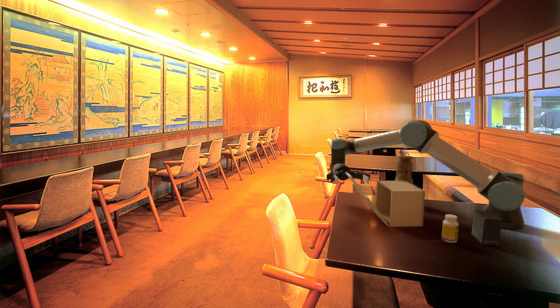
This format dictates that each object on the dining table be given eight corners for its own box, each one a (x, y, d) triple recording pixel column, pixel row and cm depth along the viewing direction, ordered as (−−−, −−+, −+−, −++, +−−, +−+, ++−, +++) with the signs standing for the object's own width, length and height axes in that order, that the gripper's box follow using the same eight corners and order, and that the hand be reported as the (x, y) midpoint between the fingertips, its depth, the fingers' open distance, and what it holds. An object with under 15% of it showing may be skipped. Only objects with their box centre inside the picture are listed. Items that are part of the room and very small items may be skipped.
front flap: (374, 211, 156) (343, 169, 153) (389, 225, 136) (354, 178, 133) (373, 212, 156) (342, 170, 153) (388, 226, 136) (353, 179, 133)
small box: (500, 246, 118) (503, 219, 116) (481, 245, 119) (483, 218, 117) (488, 235, 128) (490, 210, 126) (470, 234, 129) (472, 209, 128)
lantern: (384, 200, 178) (387, 146, 174) (398, 198, 183) (401, 145, 179) (406, 207, 165) (409, 149, 161) (420, 205, 169) (423, 148, 165)
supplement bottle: (456, 244, 119) (458, 219, 118) (440, 241, 122) (442, 216, 121) (457, 239, 124) (459, 215, 123) (442, 236, 127) (443, 212, 126)
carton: (403, 212, 156) (405, 180, 154) (422, 227, 137) (425, 191, 135) (375, 212, 156) (376, 180, 154) (390, 227, 136) (392, 191, 134)
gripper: (366, 178, 162) (380, 189, 141) (317, 179, 161) (324, 189, 140) (366, 164, 161) (381, 172, 140) (317, 164, 160) (324, 172, 139)
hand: (352, 181), depth 140 cm, fingers open, 13 cm apart
